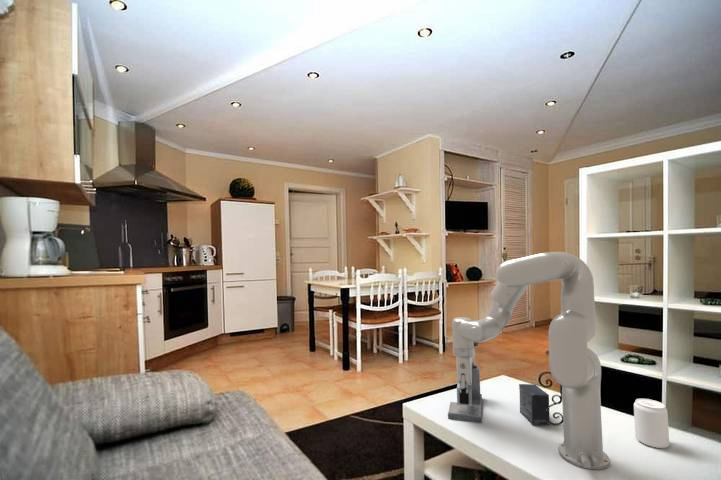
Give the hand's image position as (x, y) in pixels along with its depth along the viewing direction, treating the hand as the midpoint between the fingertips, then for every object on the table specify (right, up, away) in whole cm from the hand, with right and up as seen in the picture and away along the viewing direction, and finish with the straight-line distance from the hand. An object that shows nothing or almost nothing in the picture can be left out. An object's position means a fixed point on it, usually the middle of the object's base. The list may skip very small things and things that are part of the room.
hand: (464, 399), depth 130 cm
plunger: (+7, +4, +13) cm, 15 cm away
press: (+3, -5, +5) cm, 7 cm away
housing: (0, -1, 0) cm, 1 cm away
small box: (+24, -5, -5) cm, 25 cm away
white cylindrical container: (+52, -3, -22) cm, 56 cm away
